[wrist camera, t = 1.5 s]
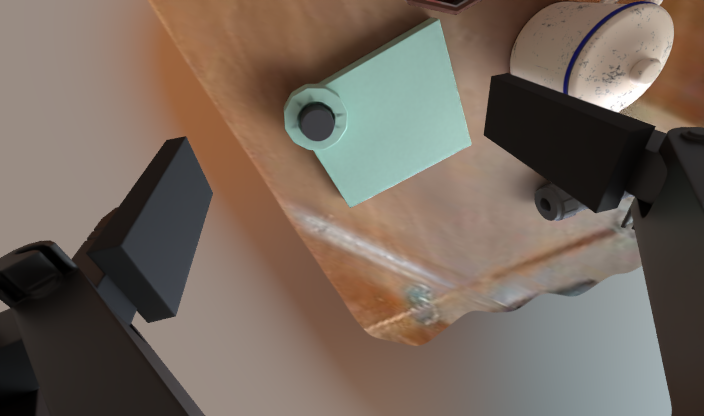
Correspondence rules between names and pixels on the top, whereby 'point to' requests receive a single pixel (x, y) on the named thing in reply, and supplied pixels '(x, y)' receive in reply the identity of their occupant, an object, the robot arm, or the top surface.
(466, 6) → the ice cream bowl
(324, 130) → the tare button
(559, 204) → the flashlight
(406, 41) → the scale
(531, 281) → the top surface
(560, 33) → the teacup with lid
